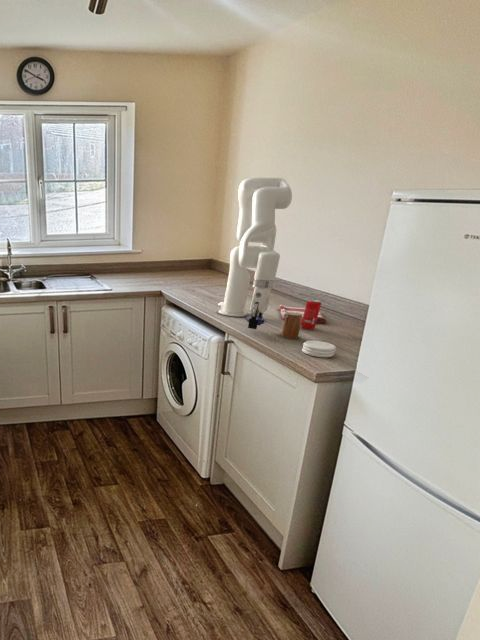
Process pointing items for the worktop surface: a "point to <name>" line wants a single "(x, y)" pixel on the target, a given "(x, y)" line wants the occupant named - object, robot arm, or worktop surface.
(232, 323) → the worktop surface
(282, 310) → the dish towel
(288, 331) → the jam jar
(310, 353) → the coaster
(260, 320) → the jam lid
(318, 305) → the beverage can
